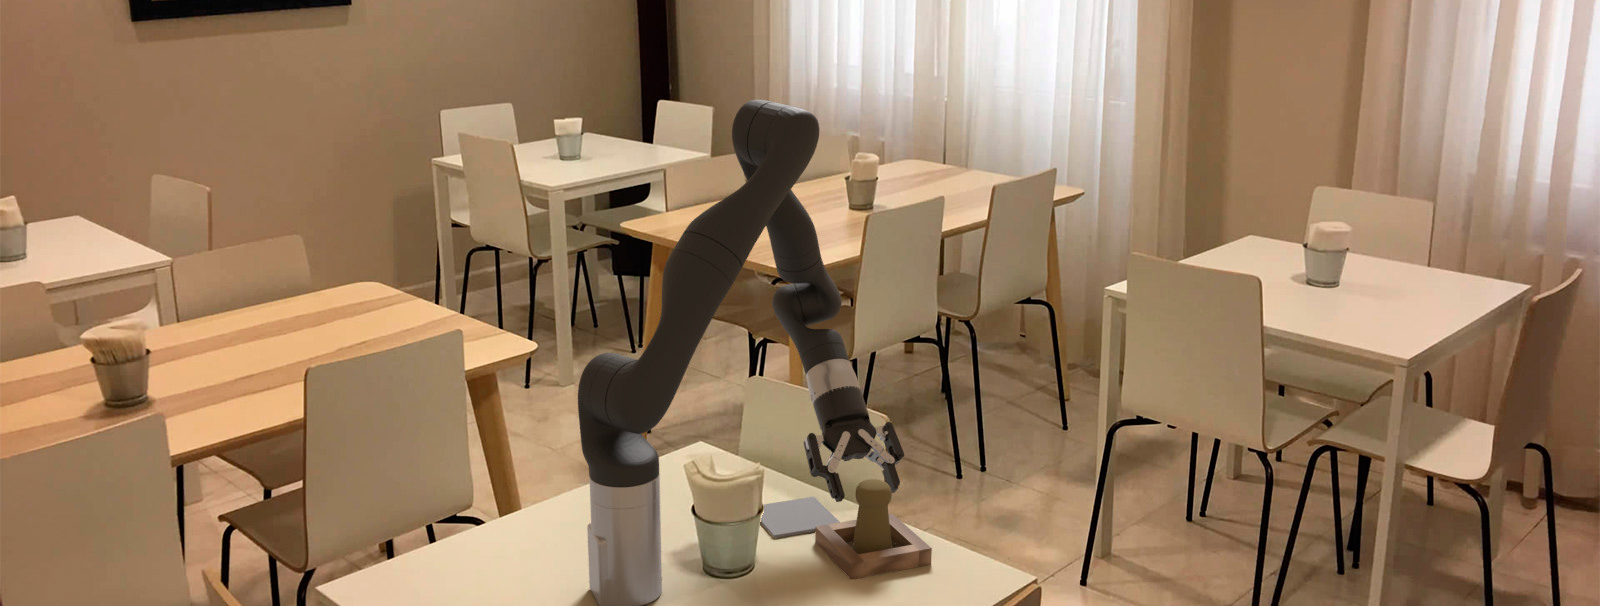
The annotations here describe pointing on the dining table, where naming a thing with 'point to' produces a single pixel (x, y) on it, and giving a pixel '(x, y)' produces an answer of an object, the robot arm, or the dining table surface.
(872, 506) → the cork
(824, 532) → the walnut board
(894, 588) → the dining table surface
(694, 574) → the dining table surface
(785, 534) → the slate mat
